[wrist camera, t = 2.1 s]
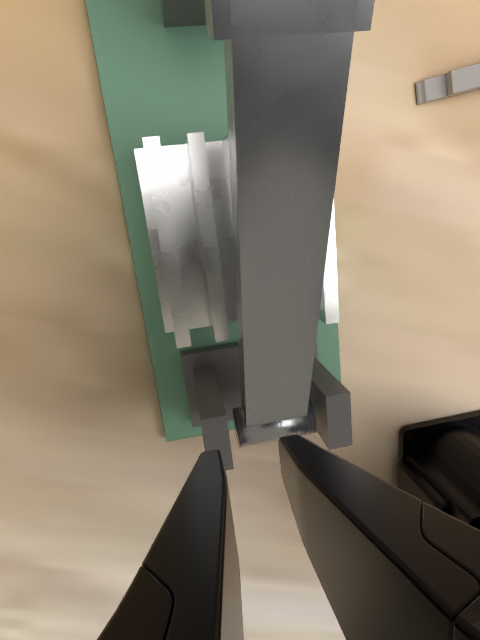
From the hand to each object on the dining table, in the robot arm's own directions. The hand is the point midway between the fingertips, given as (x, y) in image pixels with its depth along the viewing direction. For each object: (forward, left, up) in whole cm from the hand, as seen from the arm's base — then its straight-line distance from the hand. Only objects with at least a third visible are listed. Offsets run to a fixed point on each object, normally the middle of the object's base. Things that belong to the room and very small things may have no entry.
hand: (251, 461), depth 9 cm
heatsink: (-2, -4, -12) cm, 13 cm away
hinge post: (-2, +4, -12) cm, 13 cm away
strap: (-2, -3, -5) cm, 6 cm away
